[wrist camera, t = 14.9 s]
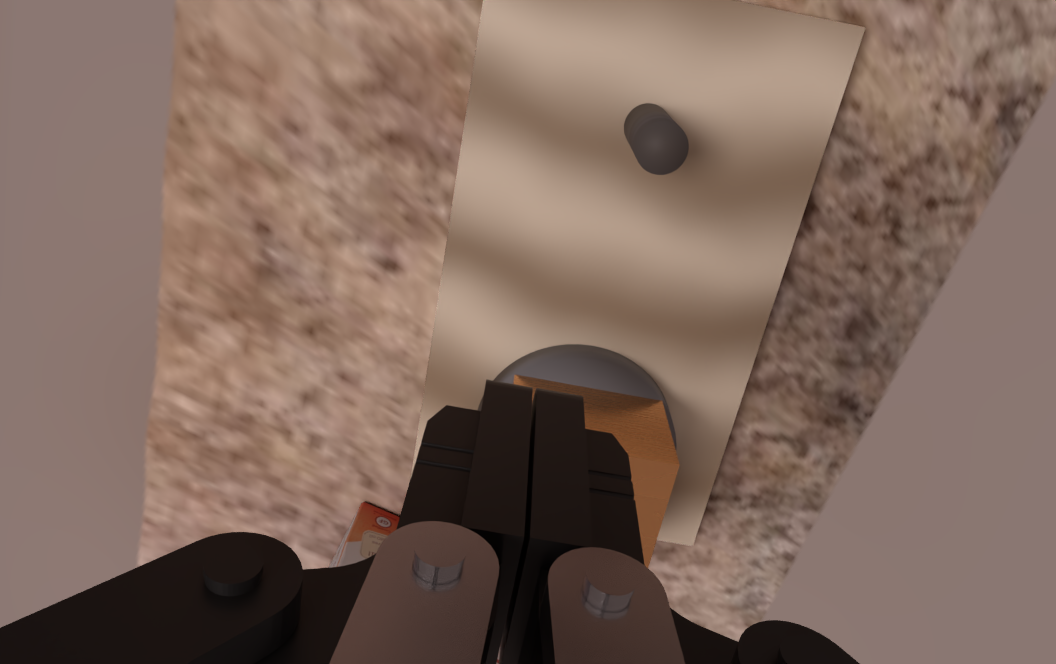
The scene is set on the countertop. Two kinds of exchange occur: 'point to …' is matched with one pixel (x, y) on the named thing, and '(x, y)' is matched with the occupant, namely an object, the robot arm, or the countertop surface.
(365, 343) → the countertop surface
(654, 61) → the board
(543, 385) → the hollow wooden cube
